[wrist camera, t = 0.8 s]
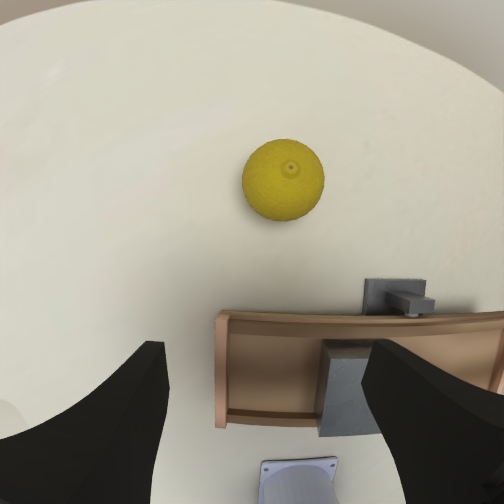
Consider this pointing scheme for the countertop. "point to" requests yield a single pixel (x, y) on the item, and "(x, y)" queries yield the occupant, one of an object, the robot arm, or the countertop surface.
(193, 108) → the countertop surface
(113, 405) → the robot arm
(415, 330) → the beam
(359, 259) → the countertop surface
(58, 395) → the countertop surface
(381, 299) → the pivot stand
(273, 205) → the lemon
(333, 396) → the steel block
